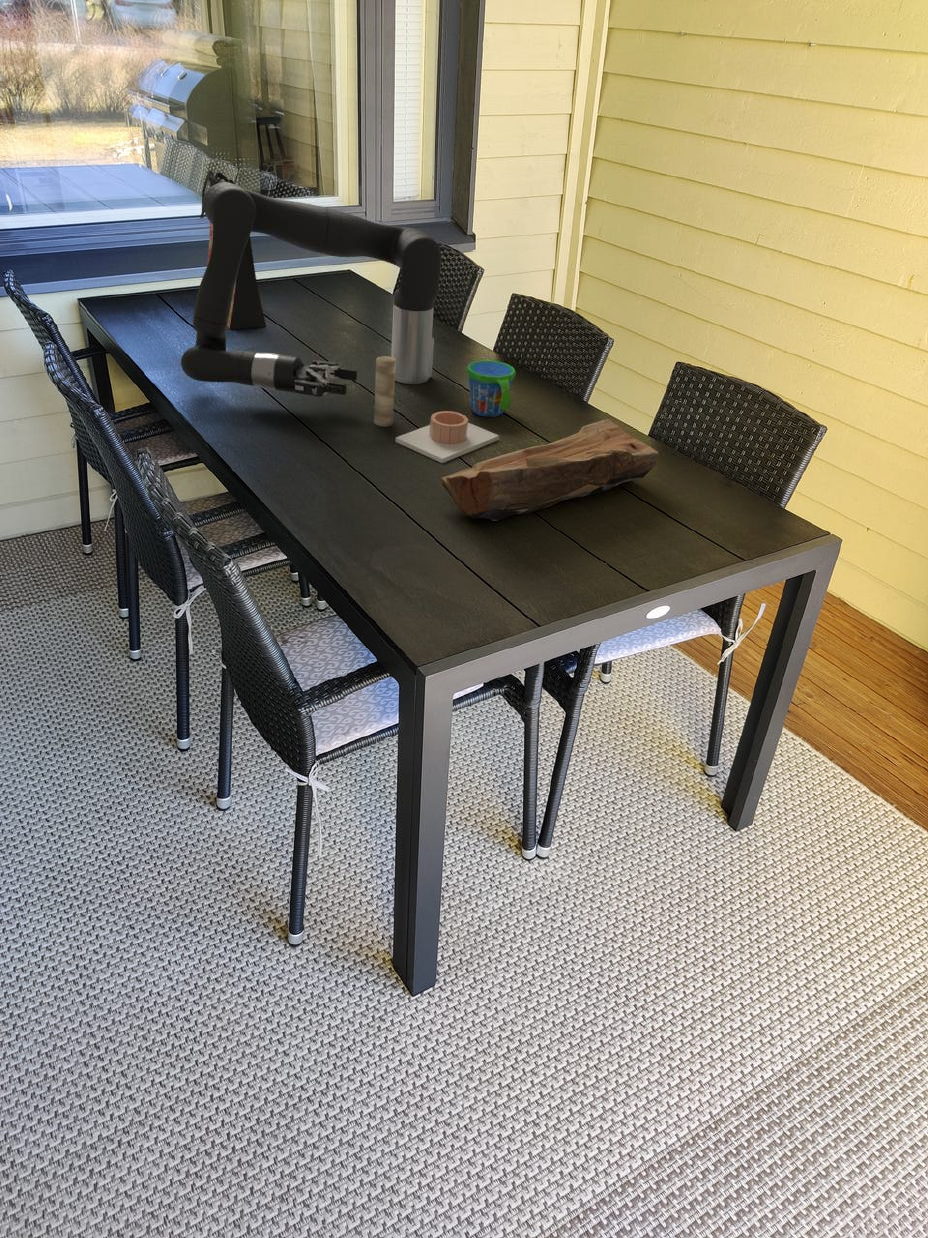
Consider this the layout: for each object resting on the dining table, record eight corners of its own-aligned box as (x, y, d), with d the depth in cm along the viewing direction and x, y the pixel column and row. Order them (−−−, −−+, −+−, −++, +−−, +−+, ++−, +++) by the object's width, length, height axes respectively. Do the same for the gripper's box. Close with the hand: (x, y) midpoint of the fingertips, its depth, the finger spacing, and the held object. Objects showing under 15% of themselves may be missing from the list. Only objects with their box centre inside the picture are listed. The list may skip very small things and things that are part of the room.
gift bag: (192, 299, 269) (182, 161, 249) (243, 296, 275) (237, 161, 255) (222, 334, 248) (214, 186, 228) (276, 330, 254) (273, 185, 234)
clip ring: (446, 426, 210) (448, 408, 207) (473, 437, 206) (475, 419, 204) (422, 435, 205) (423, 417, 202) (449, 447, 201) (451, 429, 199)
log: (474, 536, 172) (499, 459, 164) (422, 487, 183) (443, 412, 175) (641, 521, 197) (669, 453, 189) (587, 478, 208) (611, 413, 200)
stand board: (452, 420, 215) (453, 416, 214) (498, 439, 208) (499, 435, 208) (395, 441, 203) (395, 437, 203) (442, 463, 197) (442, 458, 196)
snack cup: (453, 399, 225) (457, 356, 219) (495, 397, 228) (500, 354, 223) (477, 427, 213) (481, 382, 207) (521, 424, 217) (527, 379, 211)
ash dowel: (383, 417, 213) (385, 354, 205) (396, 423, 211) (399, 360, 203) (370, 422, 210) (372, 358, 203) (383, 428, 208) (386, 364, 201)
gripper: (266, 366, 200) (343, 376, 199) (287, 344, 212) (360, 354, 211) (267, 400, 204) (342, 411, 203) (287, 377, 216) (359, 387, 215)
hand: (351, 382), depth 207 cm, fingers open, 8 cm apart
